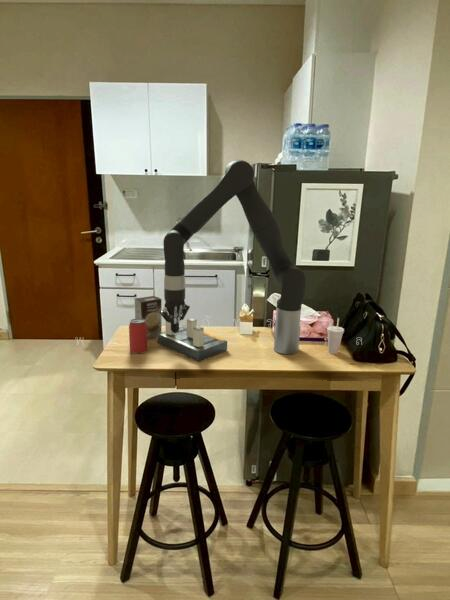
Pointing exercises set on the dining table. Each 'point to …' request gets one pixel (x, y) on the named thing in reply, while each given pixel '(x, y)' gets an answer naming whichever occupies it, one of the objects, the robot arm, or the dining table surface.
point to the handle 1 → (169, 329)
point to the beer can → (138, 335)
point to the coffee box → (149, 314)
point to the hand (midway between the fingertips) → (175, 331)
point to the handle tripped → (191, 326)
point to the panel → (186, 347)
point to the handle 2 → (198, 336)
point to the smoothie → (334, 338)
